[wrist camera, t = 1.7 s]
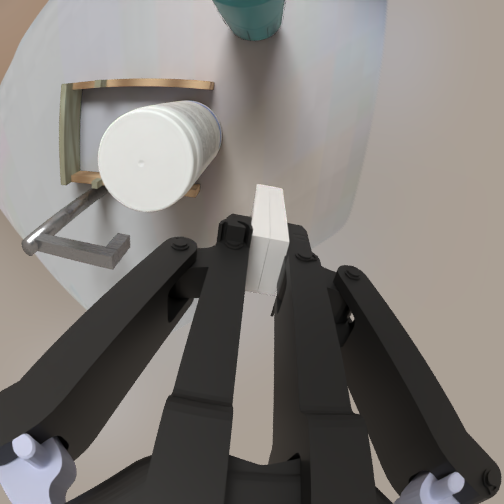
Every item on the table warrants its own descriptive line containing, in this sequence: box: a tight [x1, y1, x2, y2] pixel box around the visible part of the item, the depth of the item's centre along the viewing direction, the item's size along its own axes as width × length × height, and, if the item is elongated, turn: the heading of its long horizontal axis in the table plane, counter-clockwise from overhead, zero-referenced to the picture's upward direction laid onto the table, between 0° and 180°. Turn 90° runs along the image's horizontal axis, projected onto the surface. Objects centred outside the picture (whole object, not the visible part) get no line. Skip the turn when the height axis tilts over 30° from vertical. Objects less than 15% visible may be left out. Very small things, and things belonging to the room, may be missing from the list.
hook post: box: [22, 185, 130, 269], centre depth 31 cm, size 12×2×18 cm, turn 80°
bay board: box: [59, 79, 214, 198], centre depth 32 cm, size 21×15×4 cm
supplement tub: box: [98, 100, 222, 212], centre depth 28 cm, size 10×10×15 cm
